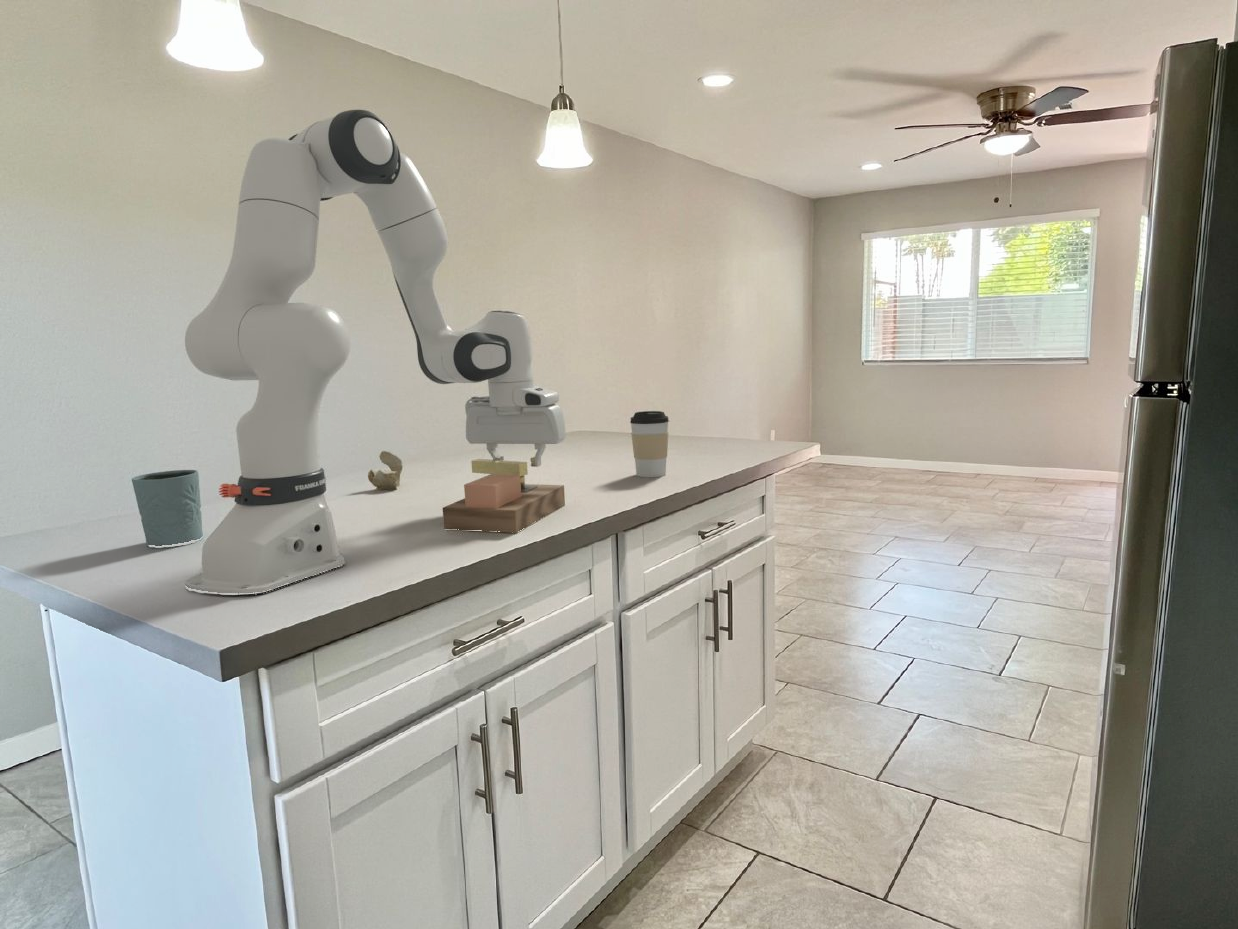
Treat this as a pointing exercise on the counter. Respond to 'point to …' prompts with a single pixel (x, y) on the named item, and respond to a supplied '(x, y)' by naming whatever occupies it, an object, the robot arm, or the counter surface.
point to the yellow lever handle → (500, 468)
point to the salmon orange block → (492, 491)
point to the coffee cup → (650, 443)
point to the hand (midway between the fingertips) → (517, 466)
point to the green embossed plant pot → (169, 506)
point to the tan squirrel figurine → (387, 472)
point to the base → (507, 511)
